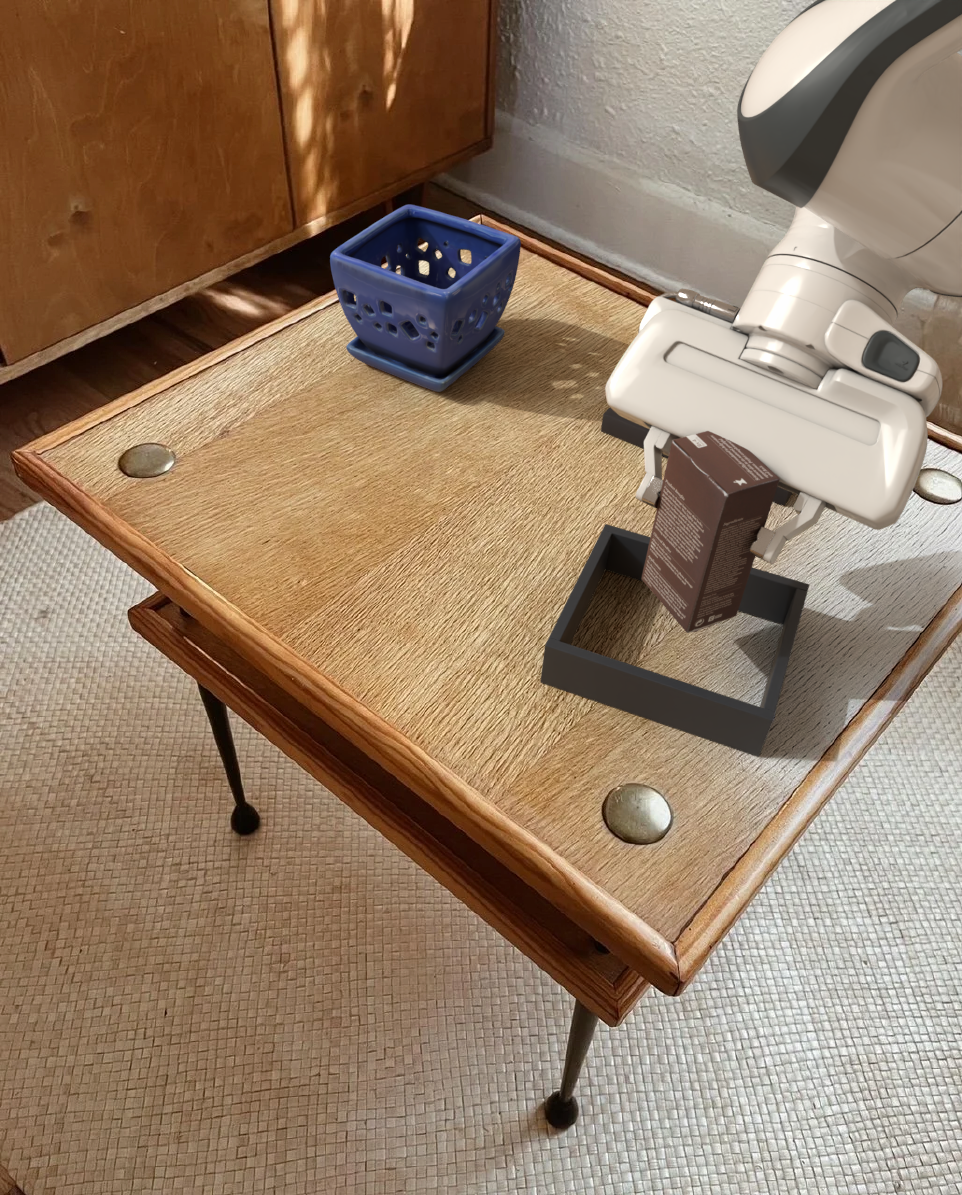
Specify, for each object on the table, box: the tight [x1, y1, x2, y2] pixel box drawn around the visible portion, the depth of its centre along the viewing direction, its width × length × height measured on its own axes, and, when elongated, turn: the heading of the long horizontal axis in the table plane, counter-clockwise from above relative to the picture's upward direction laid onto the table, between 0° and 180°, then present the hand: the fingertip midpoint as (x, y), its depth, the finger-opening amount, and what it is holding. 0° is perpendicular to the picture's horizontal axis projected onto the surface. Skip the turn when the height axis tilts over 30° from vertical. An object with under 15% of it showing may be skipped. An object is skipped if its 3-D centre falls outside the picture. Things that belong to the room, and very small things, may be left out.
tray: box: [539, 523, 810, 757], centre depth 73 cm, size 16×14×4 cm
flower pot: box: [329, 204, 522, 393], centre depth 96 cm, size 13×13×12 cm
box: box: [642, 431, 780, 634], centre depth 67 cm, size 6×4×12 cm
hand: (702, 531), depth 66 cm, fingers closed on box, 7 cm apart
